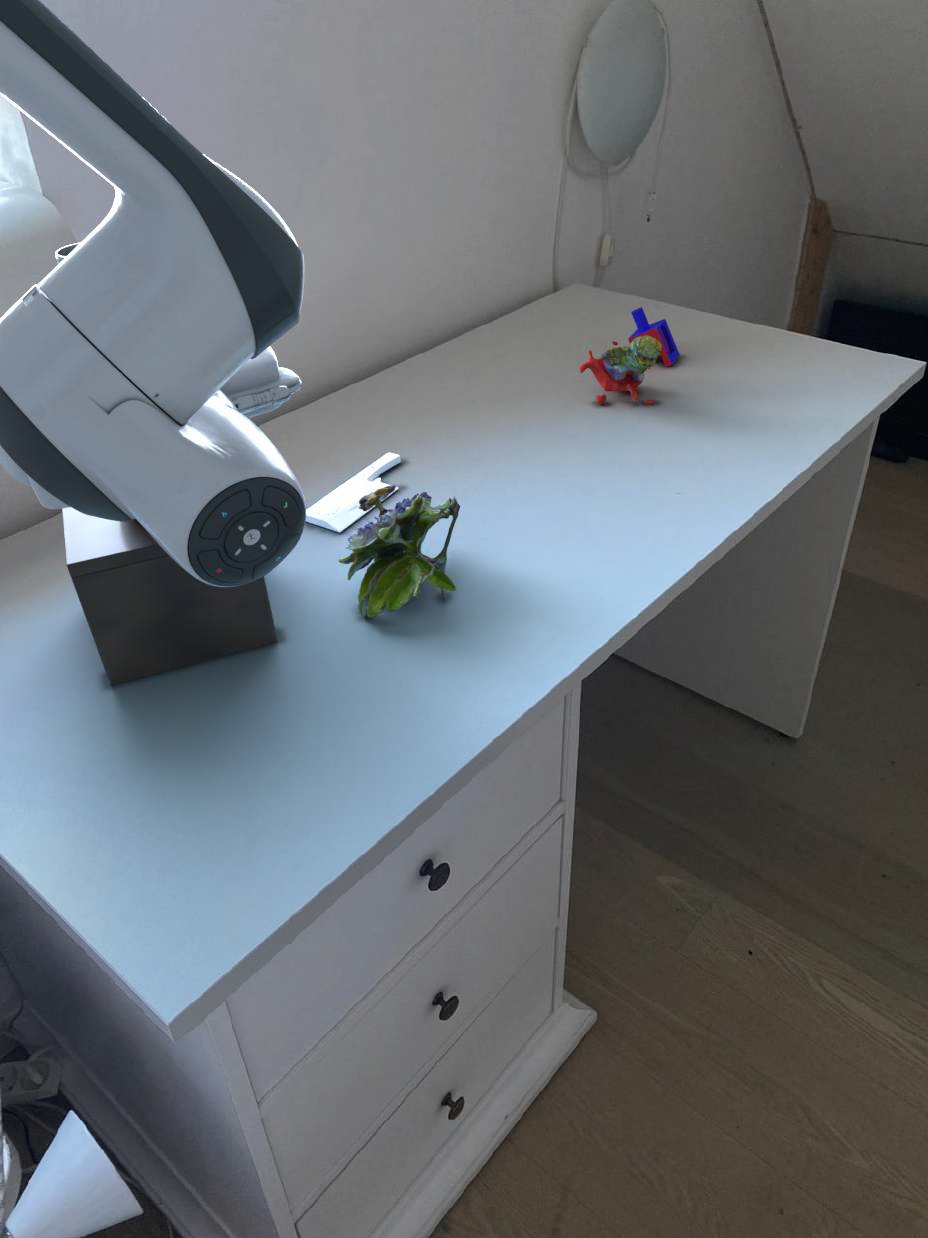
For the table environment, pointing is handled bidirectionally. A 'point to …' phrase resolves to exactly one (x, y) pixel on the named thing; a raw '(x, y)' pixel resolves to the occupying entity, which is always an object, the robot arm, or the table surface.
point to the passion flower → (398, 551)
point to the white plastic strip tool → (350, 496)
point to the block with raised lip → (155, 602)
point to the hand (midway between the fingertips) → (110, 362)
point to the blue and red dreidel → (656, 335)
